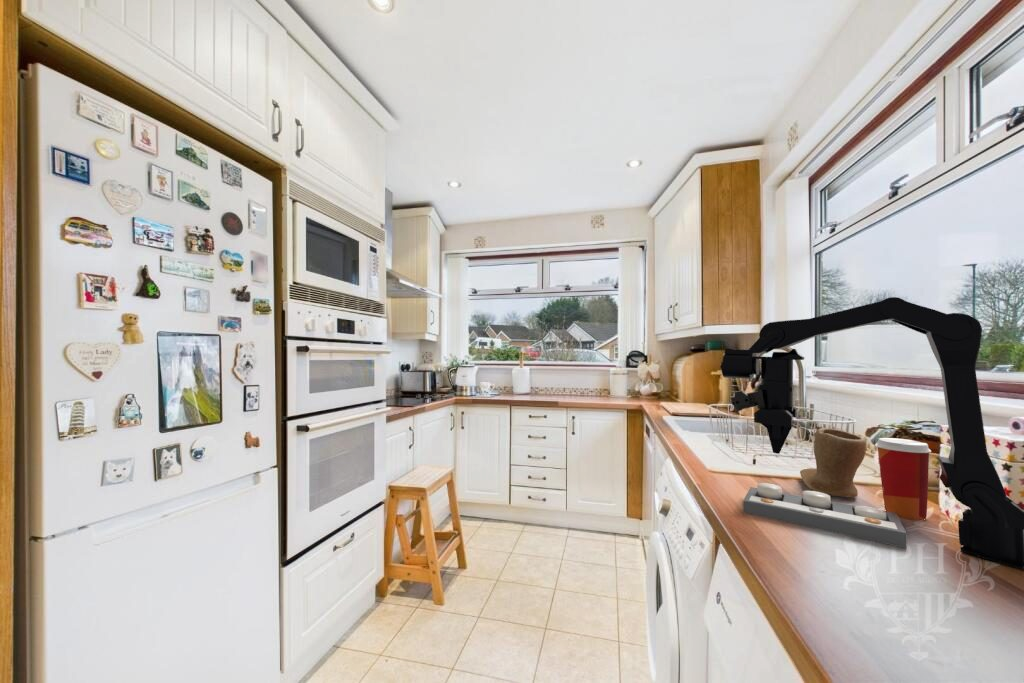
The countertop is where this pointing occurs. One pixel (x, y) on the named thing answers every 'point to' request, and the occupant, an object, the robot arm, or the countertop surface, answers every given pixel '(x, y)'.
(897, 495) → the coffee cup
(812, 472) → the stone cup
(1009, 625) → the countertop surface
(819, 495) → the button middle
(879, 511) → the button
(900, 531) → the button board
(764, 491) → the button
